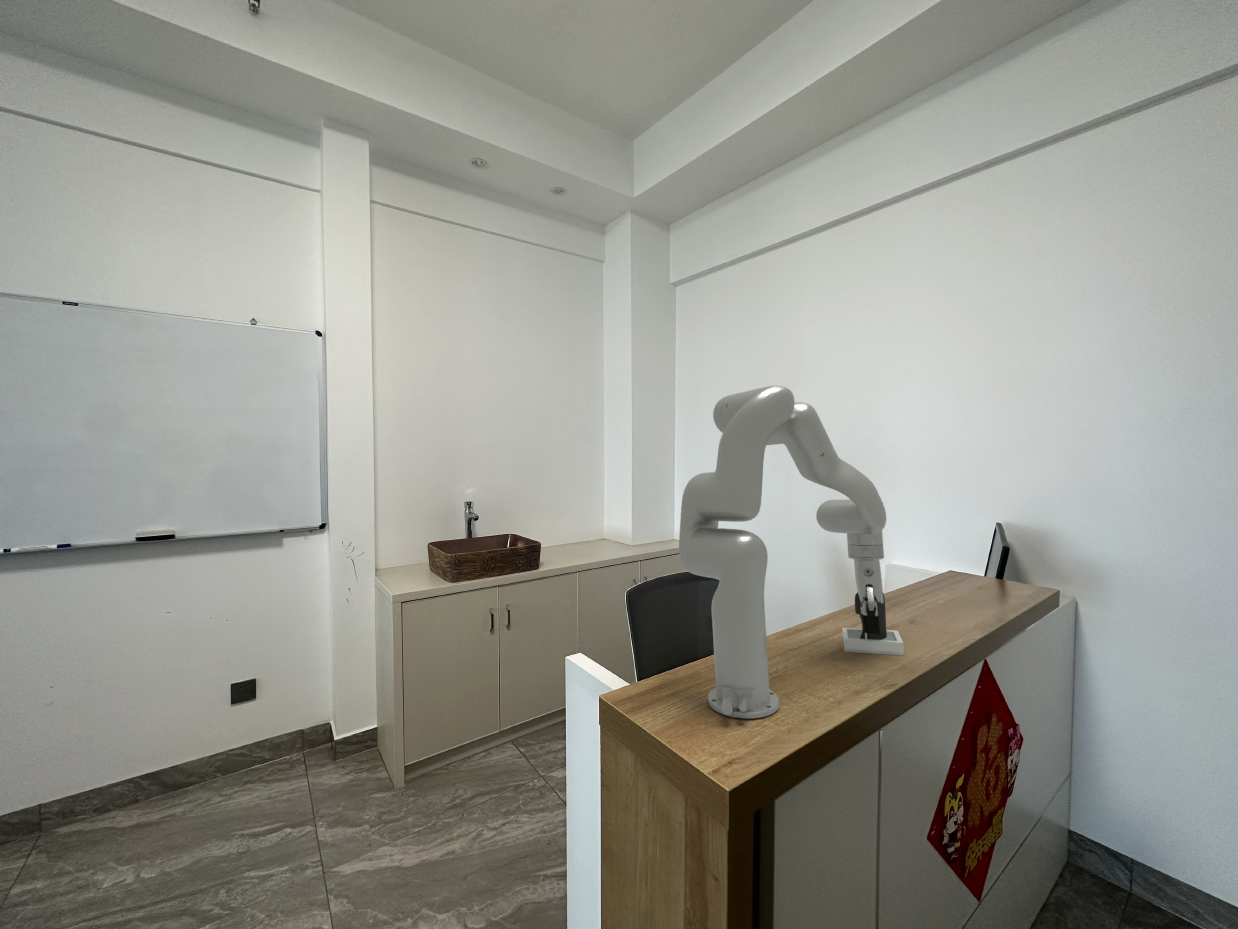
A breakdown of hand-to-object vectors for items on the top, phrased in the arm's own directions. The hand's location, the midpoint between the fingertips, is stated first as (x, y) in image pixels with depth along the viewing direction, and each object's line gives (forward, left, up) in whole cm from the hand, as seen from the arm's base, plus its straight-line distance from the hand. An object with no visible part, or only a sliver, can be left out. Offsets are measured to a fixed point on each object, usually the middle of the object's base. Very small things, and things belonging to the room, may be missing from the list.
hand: (870, 627), depth 118 cm
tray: (0, 0, -4) cm, 4 cm away
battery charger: (0, 0, -3) cm, 3 cm away
